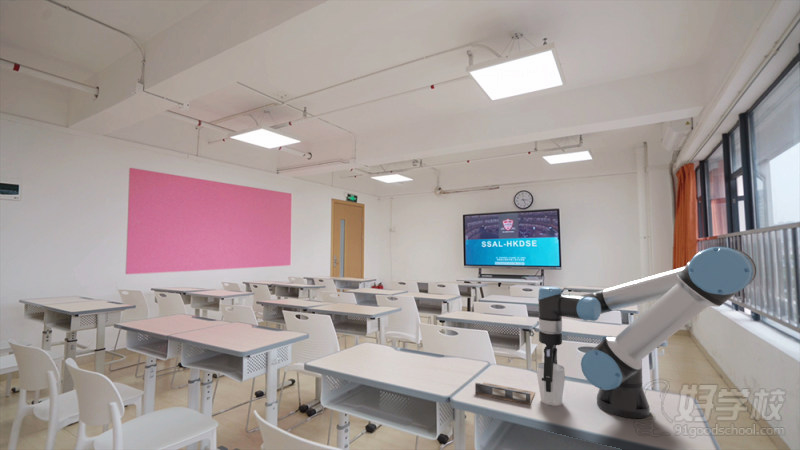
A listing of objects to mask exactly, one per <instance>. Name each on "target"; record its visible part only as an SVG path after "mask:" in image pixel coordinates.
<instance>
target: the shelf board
mask: <svg viewBox="0 0 800 450" xmlns="http://www.w3.org/2000/svg"><path fill="white" fill-rule="evenodd" d="M474 388H475V389H474V390H475V392H474V393H475V395H479V396H485V397H490V398H495V399H498V400H504V401H510V402H513V403H518V404H519V403H520V404H523V405H528V406H531V404H532V402H533V399H534V397H535V395H536V391H532V390H526V389H520V388H516V387H515V388H514V387H510V386H504V385H499V384H493V383H488V382H482V383H480V382H475V385H474ZM534 394H535V395H534ZM531 401H532V402H531Z"/></svg>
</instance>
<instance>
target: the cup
mask: <svg viewBox="0 0 800 450" xmlns="http://www.w3.org/2000/svg"><path fill="white" fill-rule="evenodd" d="M536 368H537V370H536V375H537V376H536V377H537V382H538V383H537V384H538V389H539V395H540V396H539V397H540V401H541V402H542V403H543V404H546V405H549V406H553V407H554V406H560V405H561V404H562V401H563V396H564V387H565V379H566V374H565V372H566V371H565V367H564V366H563V365H561V364H559V363H557V364H554V363H553V378H552V380H553V402H550V401H544V381H542V378H544V362H540V363H538V364H537V366H536ZM548 378H550V377H548Z"/></svg>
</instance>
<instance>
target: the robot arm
mask: <svg viewBox="0 0 800 450" xmlns="http://www.w3.org/2000/svg"><path fill="white" fill-rule="evenodd" d="M756 275H757V265H756V263H755V261H754V260H753V258H752V257H751V256H750V255H749V254H747V253H746V252H745V251H743V250H741V249H740V250H739V249H737V248H732V247H728V246H727V247H726V246H713V247H712V246H711V247H708V248H704V249H703V250H700V251H698V253H696V254H694V256H692V259H691V260H690V261H688V262H687V263H686V265H684V266H682V267H681V266H680V267H678V268H675V269H670V270H668V271H664V272H660V273H657V274H654V275H650V276H646V277H643V278H641V279H640V278H639V279H636V280H633V281H629V282H626V283H625V282H624V283H622V284H618V285H614V286H612V287H608V288H605V289H602V290H601V289H600V290H598V291H593V292H590V293H585V294H581V295H571V294H564V293H563V292H562V289H561V288H560V287H555V286H542V287H540V288H539V290H538V298H537V300H538V320H537V321H536V323H537V324H538V329H539V331H538V342H539V343H540V344H543V345H545V346H544V348H543V354H544V355H543V360H544V361H543V363H544V378H542V381H544V401H550V402H553V380H552V378H553V363H554V364H558V354H557V353H558V348H557V346H561V345H562V344H563V333H562V332H563V318H562V317H564V318H565V317H566V318H571V319H578V320H583V321H586V322H587V321H593V322H595V321H598V320H599V319H600V316H601V314H606V313H610V312H613V311H618V310H622V309H625V308H629V307H634V306H638V305H642V304H647V303H650V302H654V303H653V304H651V306H650V307H648V308H647V309H646V310H645V311H644V312H642V313H641V314H640V315H639V316H638V317H637V318H636V319H634V320H633V321H632V322H631V323H630V324H628V326H627V327H625V328H624V329H623V330H622V331H621V332H620V333H618V334H617V335H616V336H613V335H604V336H602V337H601V340H600V343H599V344H597V345H596V346H595V347H593V349H589V350H587V351H586V352H585V354H584V355H583V356H582V358H581V360H580V366H581V367H580V368H581V372H582V374H583V376H584V377H585V379H586V380H587V381H588V383H589V384H591V385H592V386H594V387H595V388H597V389H598V392H597V395H596V404H597V406H598V407H599V408H600V409H602V411H604V412H607V413H609V414H613V415H616V416H620V417H623V418H628V419H629V418H630V419H645V418H648V417H649V416H650V409H651V408H650V405H649V401H648V399H647V397H646V393H645V390H644V387H643V362H642V361H643V359H644V358H646V357H647V356H648V355H649V354H651V353H653V351H654V350H656V349H657V348H658V347H659V346H661V345H663V343H665V342H666V341H667V340H669V338H671V337H672V336H673V335H674V334H676V333H677V332H678V331H680V330H681V329H682V328H684V327H685V326H686V325H687V324H688V323H690V321H692V320H693V319H695V318H697V316H698V315H700V314H701V313H702V312H704V311H705V310H706V309H707V308H708V307H721V306H722V305H724V304H725V303H726V302H727V301H728V300H730V299H731V298H732V297H734V296H735V295H736V294H738V293H739V292H741V291H742V290H744V289H745V288H746V287H747V286H749V285H750V284H752V283H753V281H754V280H755V278H756ZM548 377H550V378H548Z"/></svg>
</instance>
